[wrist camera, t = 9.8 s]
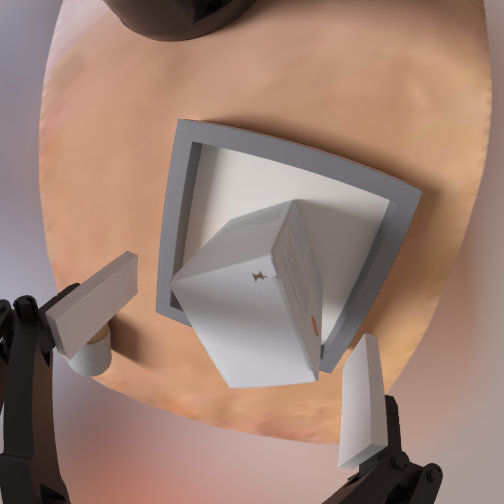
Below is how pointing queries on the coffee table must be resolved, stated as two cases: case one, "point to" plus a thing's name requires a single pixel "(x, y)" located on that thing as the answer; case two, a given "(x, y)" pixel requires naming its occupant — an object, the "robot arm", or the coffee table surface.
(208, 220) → the square gray-rimmed holder
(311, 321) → the small box
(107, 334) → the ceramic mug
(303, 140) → the coffee table surface
